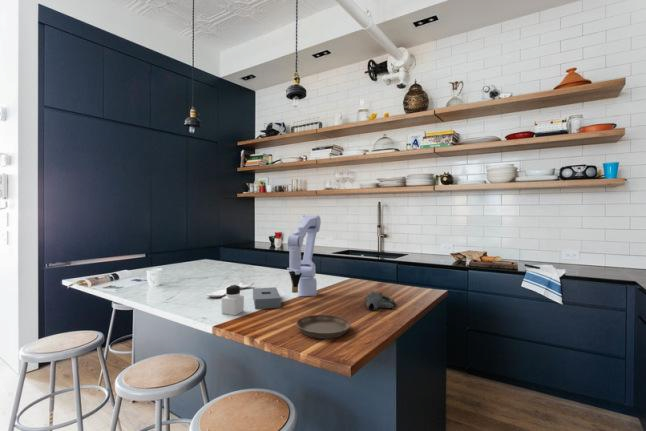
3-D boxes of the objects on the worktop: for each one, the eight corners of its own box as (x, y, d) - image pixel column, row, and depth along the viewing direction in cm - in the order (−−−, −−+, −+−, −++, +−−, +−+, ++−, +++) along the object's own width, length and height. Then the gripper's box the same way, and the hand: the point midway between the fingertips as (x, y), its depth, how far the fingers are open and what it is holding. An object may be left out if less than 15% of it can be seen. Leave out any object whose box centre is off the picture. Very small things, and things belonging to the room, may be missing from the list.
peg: (297, 291, 172) (297, 273, 172) (298, 292, 169) (298, 274, 169) (291, 291, 172) (291, 273, 171) (292, 292, 169) (292, 274, 168)
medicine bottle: (244, 311, 155) (244, 284, 154) (235, 315, 148) (235, 288, 148) (230, 309, 157) (230, 283, 157) (221, 313, 150) (221, 286, 150)
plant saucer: (346, 321, 142) (347, 314, 141) (353, 341, 121) (353, 332, 121) (297, 322, 141) (297, 314, 141) (295, 342, 120) (295, 332, 120)
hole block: (275, 295, 182) (275, 287, 182) (280, 307, 161) (281, 297, 161) (252, 296, 179) (252, 288, 179) (255, 309, 158) (255, 299, 158)
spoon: (254, 287, 201) (254, 281, 201) (215, 300, 173) (215, 293, 173) (242, 286, 205) (242, 280, 205) (202, 298, 177) (202, 291, 177)
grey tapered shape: (362, 299, 157) (395, 306, 153) (369, 286, 181) (397, 292, 177) (360, 310, 157) (393, 317, 153) (367, 295, 181) (396, 301, 177)
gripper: (285, 257, 176) (285, 283, 176) (289, 261, 162) (289, 290, 162) (298, 256, 178) (298, 282, 178) (303, 261, 164) (303, 289, 164)
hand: (295, 286), depth 170 cm, fingers closed on peg, 3 cm apart
